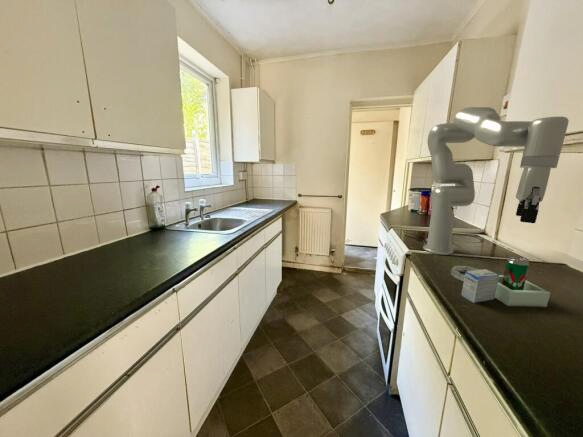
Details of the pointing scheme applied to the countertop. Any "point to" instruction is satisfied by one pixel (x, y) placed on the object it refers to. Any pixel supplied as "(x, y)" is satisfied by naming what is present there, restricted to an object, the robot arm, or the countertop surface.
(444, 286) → the countertop surface
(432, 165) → the robot arm
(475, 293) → the medicine box
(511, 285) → the soda can
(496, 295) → the bin
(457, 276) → the collar
